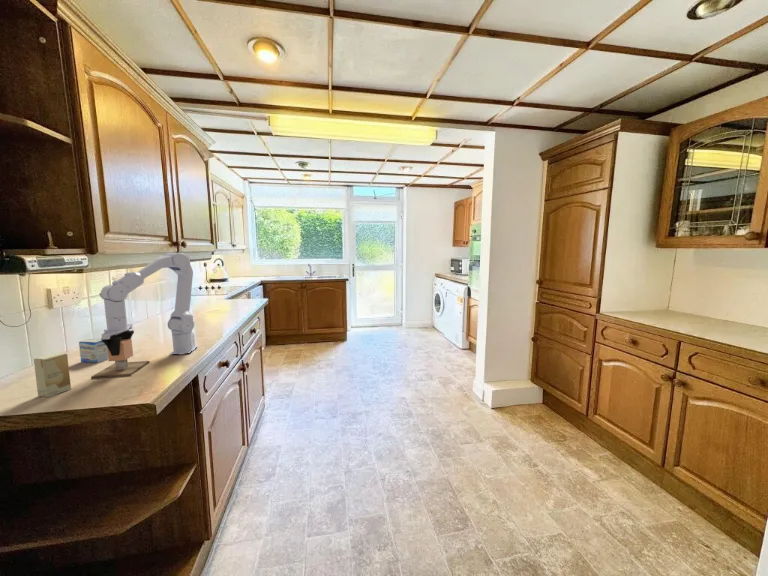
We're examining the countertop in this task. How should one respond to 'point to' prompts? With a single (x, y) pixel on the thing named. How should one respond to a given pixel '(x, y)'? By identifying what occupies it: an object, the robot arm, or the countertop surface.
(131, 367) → the post board
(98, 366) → the countertop surface
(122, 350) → the square cap
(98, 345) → the medicine box
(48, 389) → the skincare box
